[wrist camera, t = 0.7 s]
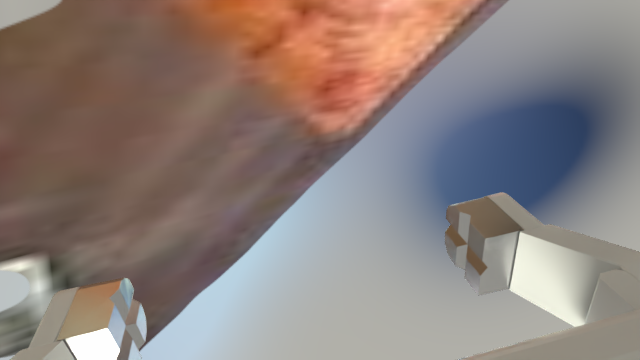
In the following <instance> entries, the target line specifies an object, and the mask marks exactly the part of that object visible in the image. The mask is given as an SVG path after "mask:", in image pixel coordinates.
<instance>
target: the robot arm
mask: <svg viewBox="0 0 640 360" xmlns="http://www.w3.org/2000/svg"><path fill="white" fill-rule="evenodd" d="M446 219H447V220H448V222H449V223H450V224H451V225H450V226H449V228H448V229H447V230H446V232H445V244H446V248H447V253H448V255H449V256H450V259H451V260H452V262H453V263H454V264H455V265H456V266H457V267H459V268H462V269H464V270H465V276H464V277H465V279H466V280H467V282H468V283H469V284H470V286H471V287H472V288H473V289H474V291H475V292H476V293H477V295H483V294H488V293H493V292H497V291H501V290H506V289H510V291H512V292H514V293H516V294H517V295H519V296H521V297H523V298H525V299H526V300H528V301H530V302H532V303H534V304H535V305H537V306H539V307H541V308H542V309H544V310H546V311H548V312H550V313H551V314H553V315H555V316H557V317H558V318H560V319H562V320H564V321H566V322H567V323H569V324H571V325H573V326H575V327H573V328H569V329H566V330H562V331H558V332H555V333H551V334H547V335H544V336H540V337H537V338H533V339H529V340H526V341H522V342H518V343H515V344H512V345H508V346H504V347H500V348H497V349H493V350H490V351H486V352H482V353H479V354H475V355H472V356H468V357H464V358H461V359H457V360H640V252H639V251H635V250H632V249H629V248H626V247H622V246H619V245H616V244H612V243H609V242H606V241H603V240H600V239H596V238H593V237H590V236H586V235H583V234H580V233H577V232H573V231H570V230H567V229H564V228H561V227H557V226H554V225H551V224H550V225H543V224H542V223H541V222H540V221H539V220H537V219H536V218H535V217H534V216H533V215H531V214H530V213H529V212H528V211H527V210H525V209H524V208H523V207H522V206H520V205H519V204H518V203H517V202H516V201H515V200H513V199H512V198H511V197H510V196H508V194H505V193H502V192H501V193H497V194H493V195H489V196H485V197H484V198H479V199H476V200H471V201H466V202H462V203H458V204H453V205H449V206H448V208H447V212H446ZM133 292H134V288H133V286H132V284H131V282H130V281H129V279H127V278H120V279H115V280H110V281H105V282H100V283H95V284H90V285H85V286H81V287H76V288H72V289H67V290H62V291H59V292H57V293H56V294H54V296H53V297H52V300H51V302H50V304H49V306H48V308H47V310H46V312H45V314H44V316H43V319H42V321H41V323H40V325H39V327H38V329H37V331H36V333H35V335H34V337H33V340H32V342H31V344H30V346H29V348H28V349H24V350H21V351H19V352H18V353H17V354H16V355H15V356H14V357H13V358H12V359H10V360H142V357H141V355H140V353H139V351H138V349H139V348H140V347H141V346H142V345H143V344H144V342H145V338H146V332H147V330H146V318H145V314H144V310H143V308H142V306H141V303H140V302H138V301H136V300H134V299H132V297H133Z"/></svg>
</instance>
